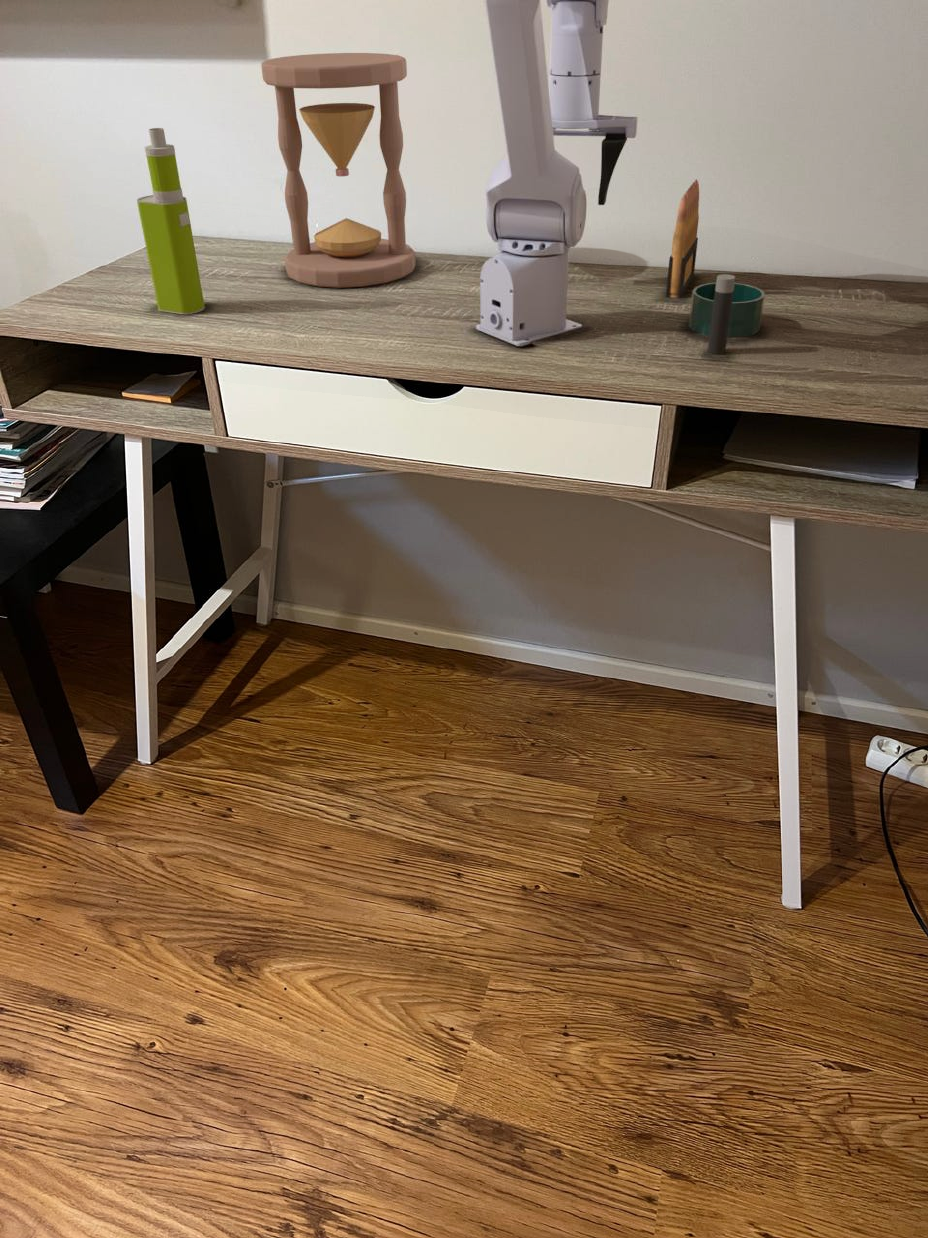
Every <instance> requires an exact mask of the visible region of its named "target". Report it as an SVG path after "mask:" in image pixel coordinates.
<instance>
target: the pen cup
mask: <svg viewBox="0 0 928 1238" xmlns="http://www.w3.org/2000/svg"><path fill="white" fill-rule="evenodd" d="M715 289H716V282H709V283H703V284H699V285H698V286H695V287H694V288H693V289H692V292H691V299H690V308H689V317H688V327H689V328H690V329H691V330H692V331H694V332H696V333H698V334H701V335H705V336H710V328H711V320H712V312H713V304H714V297H715ZM765 298H766V293H765V292H764V290H762V289H760V288H759V287H757V286H753V285H750V284H745V283H738V282H735V284H734V291H733V298H732V306H731V313H730V320H729V327H728V335H727V339H729V338H730V339H732V338H734V339H735V338H744V337H749V336H752V335H755V334H757V333H758V332H759V331H760V329H761V324H762V317H763V313H764V312H763V310H764V304H765Z"/></svg>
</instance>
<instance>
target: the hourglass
mask: <svg viewBox="0 0 928 1238" xmlns="http://www.w3.org/2000/svg"><path fill="white" fill-rule="evenodd" d="M260 65H261V67H260V68H261V76H262V80H263V82H264V83H265V84H266V85H268V86H272V87H274V91H275V101H276V108H277V117H278V118H277V141H278V147H279V151H280V153H281V156H282V159H283V162H284V165H285V168H286V170H287V172H286V178H285V187H284V200H285V206H286V210H287V215H288V218H289V223H290V231H291V232H290V233H291V240H292V247H293V249H290V251H289V252H288V253H286V255H285V256H284V265H285V266H284V267H285V272H286V274H287V276H288V277H289V279H291V280H294V281H295V282H298V283H299V284H304V285H309V286H314V287H319V288H320V287H321V288H337V289H338V288H339V289H343V288H361V287H362V288H363V287H369V286H376V285H383V284H387V283H390V282H391V283H392V282H393V281H398V280H402V279H403V278H404V277H407V276H408V275H410V274H412V273H413V271H414V269H415V267H416V264H417V263H416V262H417V261H416V251H415V250H414V249H413V248H412V247H411V246H410V245H409V244H407V243H406V223H405V219H406V210H407V193H406V189H405V185H404V181H403V178H402V175H401V172H400V166H401V160H402V155H403V150H404V134H403V129H402V123H401V118H400V105H399V104H400V103H399V88H398V87H399V85H398V82H401V81H403V80H404V79H405V78H406V77H407V75H408V69H407V58H406V57H404V56H401V55H398V54H390V53H378V52H333V53H332V52H331V53H329V52H328V53H313V54H298V55H287V56H280V57H274V58H270V59H266V60H264V61H262V62H261V64H260ZM374 86H378V90H379V91H378V92H379V106H380V108H379V109H380V122H379V135H378V136H379V148H380V150H381V154H382V157H383V161H384V164H385V167H386V174H385V180H384V185H383V192H382V201H383V207H384V212H385V217H386V223H387V224H386V225H387V239H386V238H382V232H381V231H380V229H379V230H378V229H376V228H374V227H371V226H369V225H366V224H363V223H360V222H358V221H355V220H352V219H350V218H347V217H346V218H344V219H342V220H339V221H338V222H336V223H334V224H332V225H330V226H328V227H326V228H323V229H322V230H319V231H317V232H316V233H315V234H314V235H313V238H314V242H311V241H310V231H309V221H308V217H309V197H308V191H307V187H306V184H305V181H304V180H303V176H302V173H301V171H300V165H301V160H302V151H303V140H302V139H303V138H302V132H301V128H300V124H299V121H298V116H297V107H296V97H295V89H321V90H322V89H348V88H362V87H374ZM375 108H376V106H375V105H373V104H370V103H369V104H368V103H359V102H331V103H319V104H312V105H306V106H303V107H301V108H299V110H298V111H299V113H300V115H301V117H302V120H303V121H304V123H305V125H306V126H307V128H308V129H309V130H310V131H311V133H312V134H313V136H314V138H315V139H316V140H317V142H318V143H319V144H320V146H321V147H322V149H323V150H324V151H325V153H326V154H327V155H328V157H329V158H330V160H331V161H332V163H334V165H335V166H336V168H335V176H336V177H348V176H349V174H350V172H349V168H348V166H349V164H350V162H351V160H352V159H353V156H354V154H355V153H356V151H357V150H358V147H359V145H360V143H361V141H362V140H363V137H364V135H365V133H366V131H367V129H368V128H369V126H370V124H371V121H372V119H373V118H374V114H375V113H374V112H375Z"/></svg>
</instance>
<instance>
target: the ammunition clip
mask: <svg viewBox="0 0 928 1238" xmlns="http://www.w3.org/2000/svg"><path fill="white" fill-rule="evenodd" d="M699 204H700V186H699V181H698V179H695V180H694V182H692V184H691V185H690V186H689V188H687V190H686V191H685V192H684V194H683V195H682V197H681V200H680V203H679V206H678V209H677V216H676V221H675V228H674V231H673V235H672V246H671V253H670V254H671V255H670V256H669V259H668V269H667V279H666V289H665V298H668V297H669V298H675V299H676V298H678V299H681V298H682V297H683V295H684V293H685V292H686V290H687V288H688V286H689V285H690V283H691V281H692V279H693V277H694V275H695V271H696V270H695V268H696V260H697V250H698V241H699V238H698V229H699V228H698V227H699V220H700V217H699V215H700V214H699V206H700V205H699Z"/></svg>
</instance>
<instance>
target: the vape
mask: <svg viewBox="0 0 928 1238" xmlns="http://www.w3.org/2000/svg"><path fill="white" fill-rule="evenodd" d="M148 133H149V138H150V143H151V144H150V145H146V146H144V152H145V156H146V161H147V167H148V172H149V177H150V182H151V187H152V189H151V190H152V191H151V192H152V195H151V194H150V195H146V196H141V197H138V198H137V199H136V201H137V202H136V203H137V208H138V212H139V218H140V219H139V220H140V223H141V228H142V233H143V239H144V243H145V248H146V249H145V250H146V254H147V258H148V263H149V269H150V274H151V279H152V284H153V288H154V294H155V299H156V306H157V309H158V311H159V312H165V313H171V314H178V315H193V314H196V313H200V312H202V311H203V310H204V309H205V308H206V307H205V302H204V301H205V300H204V295H203V294H204V293H203V289H202V284H201V277H200V271H199V265H198V260H197V254H196V247H195V242H194V235H193V231H192V230H193V229H192V225H191V218H190V213H189V207H188V199H187V197H185V196H184V194H183V189H182V187H181V181H180V175H179V169H178V164H177V158H176V157H177V156H176V150H175V145H174V144H169V143H167V140H166V135H165V129H164V128H163V127H154V128H149V129H148Z"/></svg>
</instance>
